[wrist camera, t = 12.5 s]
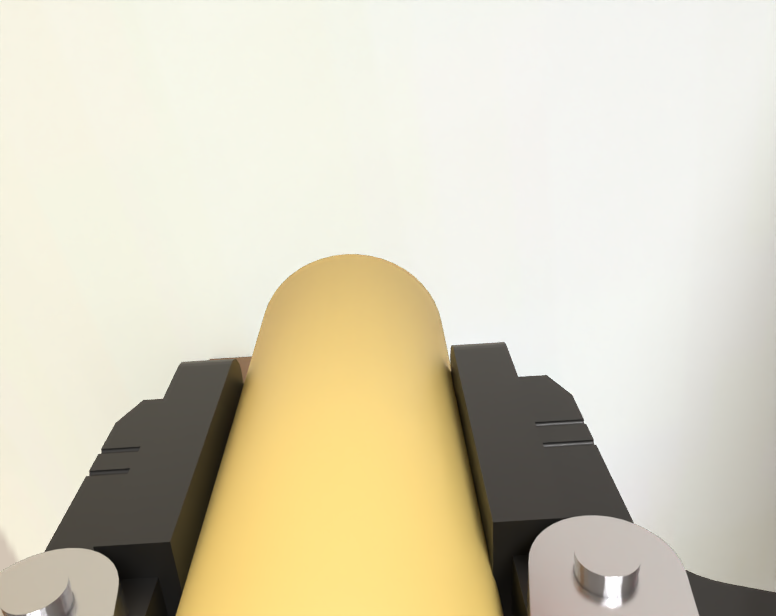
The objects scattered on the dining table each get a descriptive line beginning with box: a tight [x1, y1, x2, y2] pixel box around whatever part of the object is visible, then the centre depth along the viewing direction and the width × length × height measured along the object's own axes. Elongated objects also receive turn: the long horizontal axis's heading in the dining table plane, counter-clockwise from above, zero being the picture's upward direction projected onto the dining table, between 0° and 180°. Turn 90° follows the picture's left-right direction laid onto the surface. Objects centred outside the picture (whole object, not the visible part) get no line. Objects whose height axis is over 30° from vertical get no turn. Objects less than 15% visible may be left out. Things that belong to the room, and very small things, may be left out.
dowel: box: [176, 254, 504, 616], centre depth 8 cm, size 3×3×10 cm
